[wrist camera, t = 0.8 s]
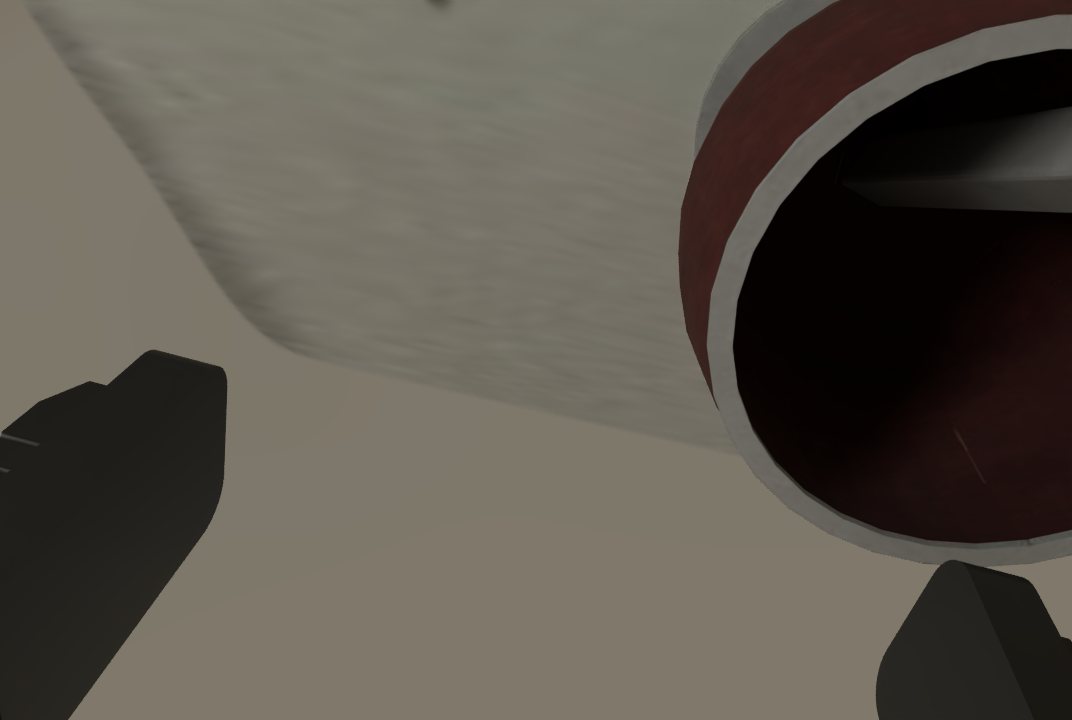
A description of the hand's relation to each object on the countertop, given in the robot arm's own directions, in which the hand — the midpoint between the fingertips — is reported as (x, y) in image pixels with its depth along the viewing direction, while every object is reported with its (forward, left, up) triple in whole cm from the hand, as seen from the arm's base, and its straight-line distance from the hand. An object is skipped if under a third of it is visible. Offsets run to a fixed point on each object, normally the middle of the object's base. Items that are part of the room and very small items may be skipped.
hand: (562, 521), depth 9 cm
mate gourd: (-3, +9, -27) cm, 29 cm away
